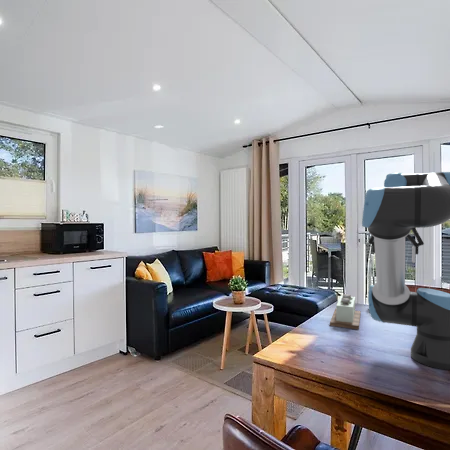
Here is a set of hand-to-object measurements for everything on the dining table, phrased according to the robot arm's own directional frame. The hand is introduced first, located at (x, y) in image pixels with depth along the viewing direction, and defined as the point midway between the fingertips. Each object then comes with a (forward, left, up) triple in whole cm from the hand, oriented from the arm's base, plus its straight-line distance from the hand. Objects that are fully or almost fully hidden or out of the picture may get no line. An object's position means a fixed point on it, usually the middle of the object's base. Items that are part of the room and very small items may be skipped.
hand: (394, 261), depth 134 cm
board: (+11, +20, -30) cm, 37 cm away
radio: (+35, +3, -30) cm, 46 cm away
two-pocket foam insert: (+13, +20, -28) cm, 37 cm away
